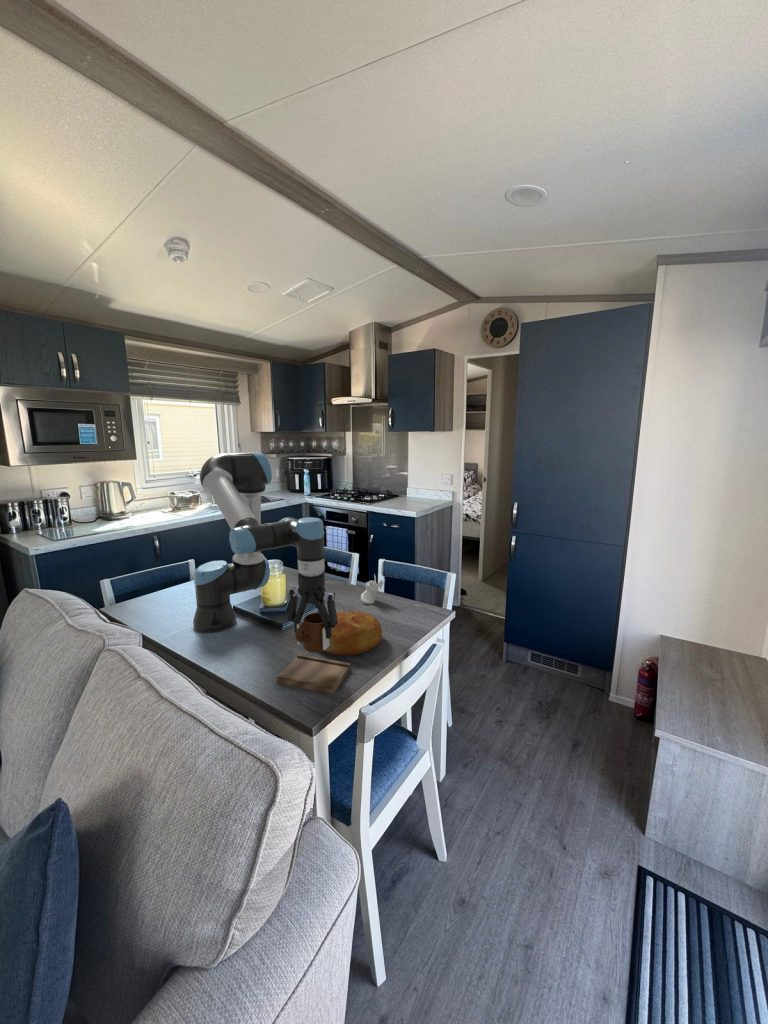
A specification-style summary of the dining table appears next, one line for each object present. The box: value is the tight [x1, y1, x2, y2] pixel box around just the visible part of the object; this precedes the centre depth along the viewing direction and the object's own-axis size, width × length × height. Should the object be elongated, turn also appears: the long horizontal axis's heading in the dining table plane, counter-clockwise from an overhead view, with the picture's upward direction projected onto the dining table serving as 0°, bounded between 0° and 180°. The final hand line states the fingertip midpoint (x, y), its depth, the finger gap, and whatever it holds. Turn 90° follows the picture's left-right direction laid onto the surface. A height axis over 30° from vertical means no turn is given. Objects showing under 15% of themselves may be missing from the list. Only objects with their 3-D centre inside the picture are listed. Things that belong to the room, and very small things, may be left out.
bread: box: [323, 610, 383, 656], centre depth 148 cm, size 23×23×10 cm
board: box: [275, 653, 351, 695], centre depth 128 cm, size 18×13×2 cm
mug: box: [294, 612, 325, 654], centre depth 126 cm, size 12×8×9 cm, turn 145°
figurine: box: [360, 573, 386, 605], centre depth 181 cm, size 11×8×12 cm
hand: (313, 645), depth 127 cm, fingers closed on mug, 8 cm apart
